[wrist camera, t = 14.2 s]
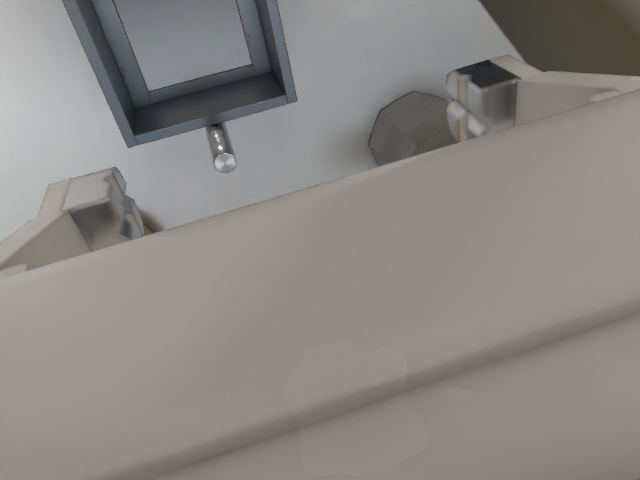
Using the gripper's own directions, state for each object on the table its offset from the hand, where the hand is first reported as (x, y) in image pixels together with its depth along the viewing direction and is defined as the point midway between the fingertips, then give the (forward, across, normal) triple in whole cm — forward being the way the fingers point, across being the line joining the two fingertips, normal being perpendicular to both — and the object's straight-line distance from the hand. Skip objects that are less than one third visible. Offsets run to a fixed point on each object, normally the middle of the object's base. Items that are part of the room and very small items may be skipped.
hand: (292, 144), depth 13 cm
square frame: (+34, +3, +4) cm, 34 cm away
